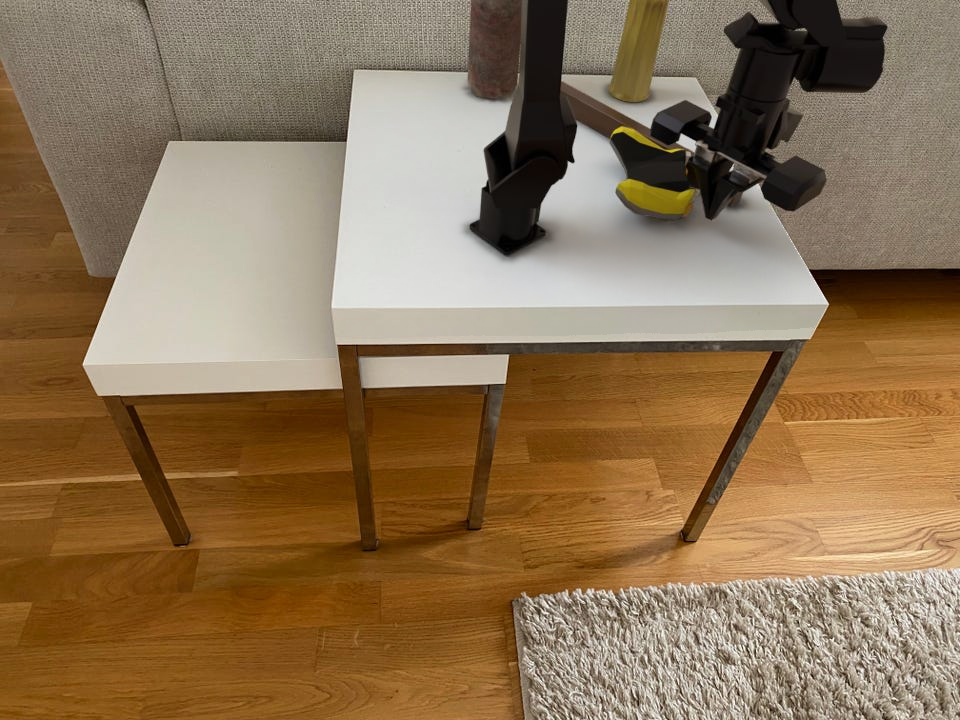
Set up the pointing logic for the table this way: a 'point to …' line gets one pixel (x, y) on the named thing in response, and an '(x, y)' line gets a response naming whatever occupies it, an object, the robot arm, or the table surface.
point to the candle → (494, 47)
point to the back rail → (618, 125)
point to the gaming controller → (652, 176)
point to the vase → (638, 50)
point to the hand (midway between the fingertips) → (710, 218)
